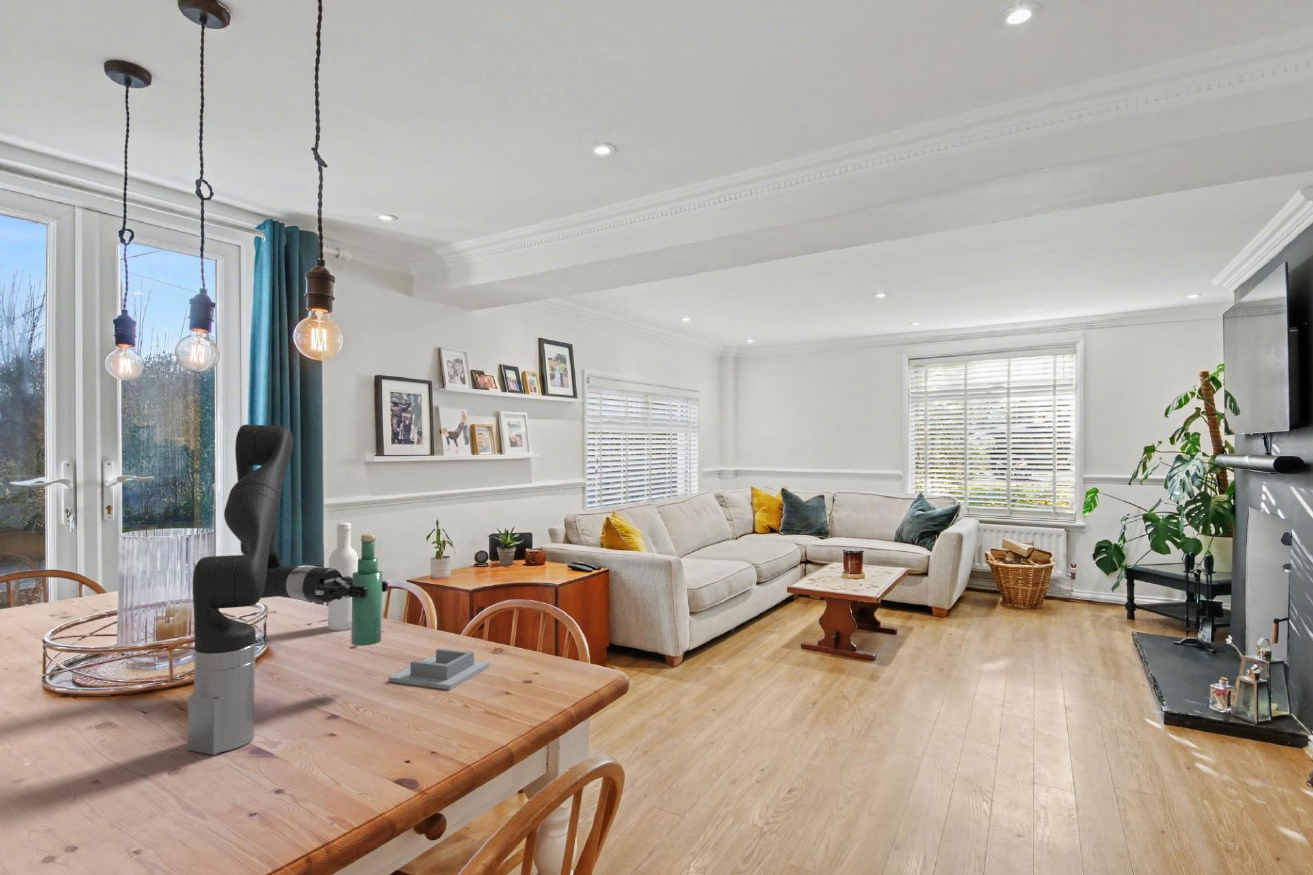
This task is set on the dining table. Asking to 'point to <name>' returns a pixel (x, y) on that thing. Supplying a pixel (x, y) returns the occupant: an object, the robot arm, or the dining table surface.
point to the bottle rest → (441, 670)
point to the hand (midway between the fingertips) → (376, 589)
